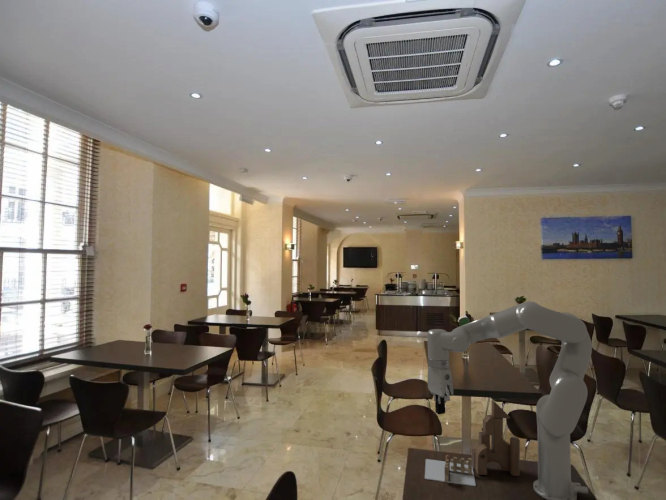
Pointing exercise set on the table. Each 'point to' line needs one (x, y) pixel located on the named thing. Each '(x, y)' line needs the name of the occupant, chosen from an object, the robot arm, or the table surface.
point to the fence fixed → (462, 465)
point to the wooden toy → (496, 445)
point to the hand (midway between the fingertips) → (440, 413)
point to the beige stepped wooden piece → (447, 467)
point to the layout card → (437, 473)
